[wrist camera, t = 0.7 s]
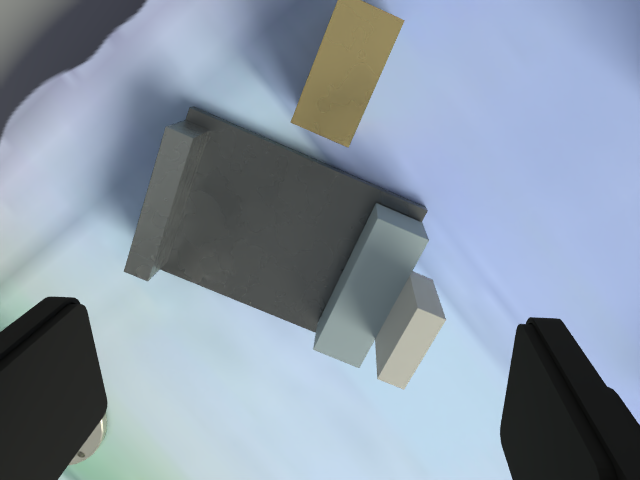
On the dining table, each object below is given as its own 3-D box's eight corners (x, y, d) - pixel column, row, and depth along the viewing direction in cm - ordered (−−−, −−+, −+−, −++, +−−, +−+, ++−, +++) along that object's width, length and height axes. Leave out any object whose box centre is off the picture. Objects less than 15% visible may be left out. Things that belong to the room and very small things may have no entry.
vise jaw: (379, 349, 42) (385, 421, 34) (317, 323, 42) (306, 390, 33) (444, 232, 38) (469, 281, 29) (376, 202, 37) (380, 243, 29)
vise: (354, 342, 43) (354, 376, 39) (147, 257, 42) (120, 282, 37) (426, 207, 38) (435, 227, 34) (193, 106, 37) (169, 112, 32)
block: (350, 132, 37) (348, 147, 30) (302, 111, 37) (290, 122, 30) (396, 28, 34) (404, 20, 28) (344, 4, 34) (341, -9, 27)
